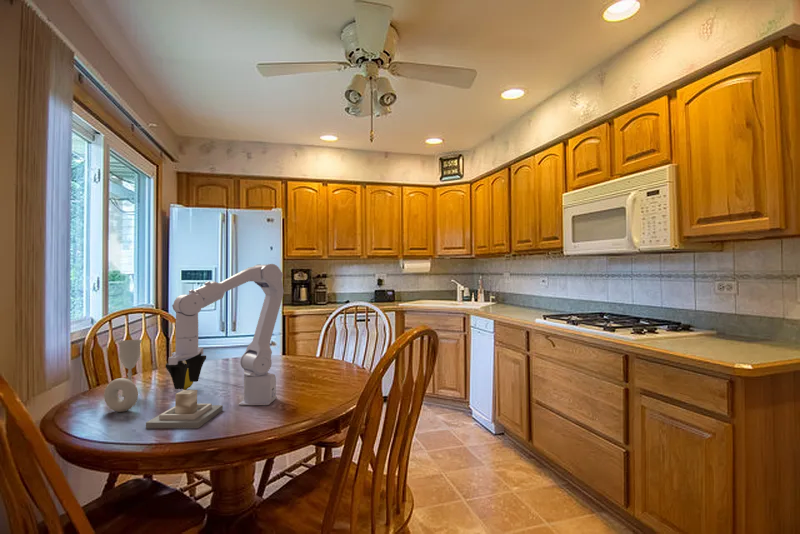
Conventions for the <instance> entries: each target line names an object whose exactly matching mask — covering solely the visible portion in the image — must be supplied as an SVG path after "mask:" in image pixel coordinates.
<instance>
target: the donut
mask: <svg viewBox="0 0 800 534" xmlns="http://www.w3.org/2000/svg"><path fill="white" fill-rule="evenodd" d="M119 391H123V392H124V395H125V396H123V397H124V398H123V399H121V398H120V396H119ZM103 396H104V397H103V398H104V403H106V406H107V407H108V408H109V409H110V410H112V411H114V412H118V413H123V412H126V411H127V412H128V411H129V410H131V409H132V408H133V407H134V406H135V405H136V403H137V401H138V398H139V391H138V388H137V386H136V384H135V383H134V382H133V380H132V381H131V380H129V379H128V378H125V377H120V378H115V379H113V380H111V381H110V382H109V383H108V384H107V386H106V387H105V389H104V394H103Z"/></svg>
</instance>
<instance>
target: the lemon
mask: <svg viewBox="0 0 800 534" xmlns="http://www.w3.org/2000/svg"><path fill="white" fill-rule="evenodd" d="M193 384H194V382H190V380H189V372H188V369H187V372H186V377H185V385H184V389H182V390H189V388H191V387H192V386H193Z"/></svg>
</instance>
